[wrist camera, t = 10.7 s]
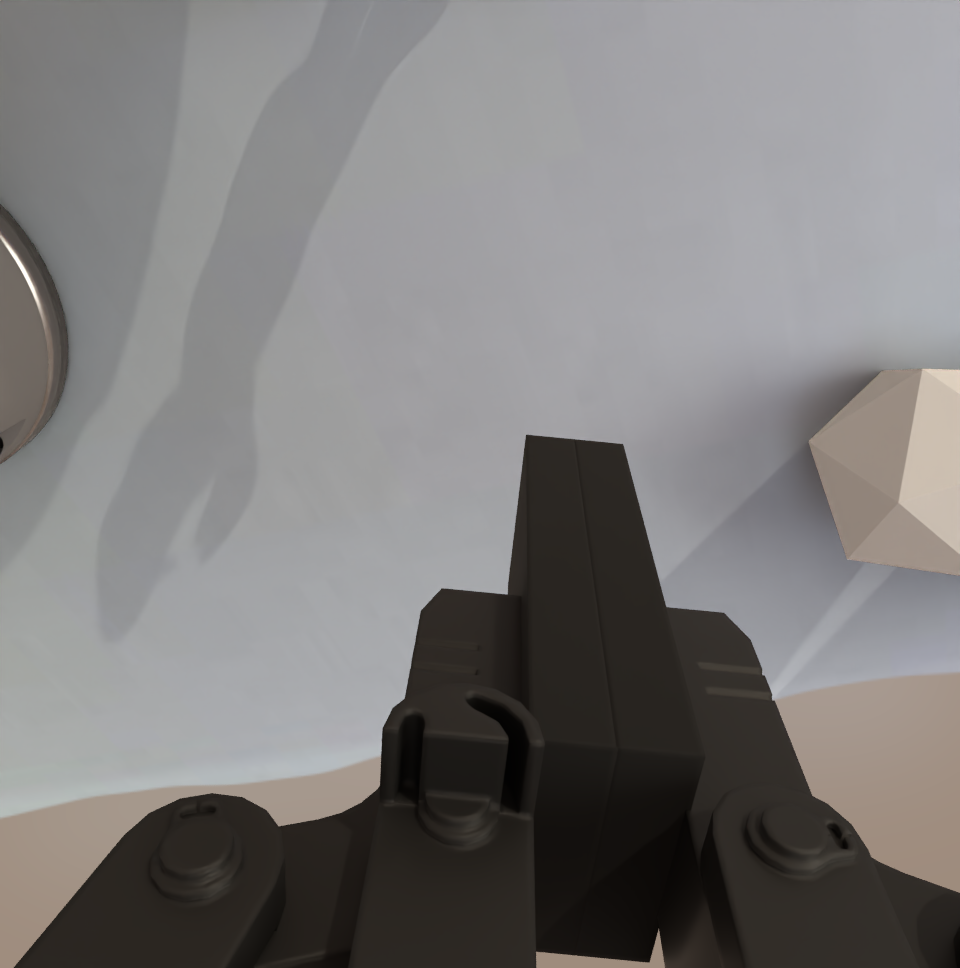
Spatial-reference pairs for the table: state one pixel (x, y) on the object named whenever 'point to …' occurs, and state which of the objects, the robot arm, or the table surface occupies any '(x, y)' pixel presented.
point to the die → (896, 470)
